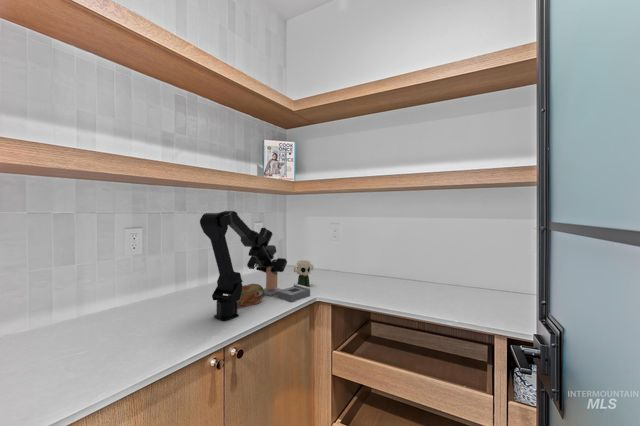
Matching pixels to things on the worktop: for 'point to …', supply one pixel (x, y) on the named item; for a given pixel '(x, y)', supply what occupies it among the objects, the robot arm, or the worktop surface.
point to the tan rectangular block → (270, 279)
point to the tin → (250, 295)
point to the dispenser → (294, 293)
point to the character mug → (303, 272)
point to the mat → (271, 291)
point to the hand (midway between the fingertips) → (273, 273)
